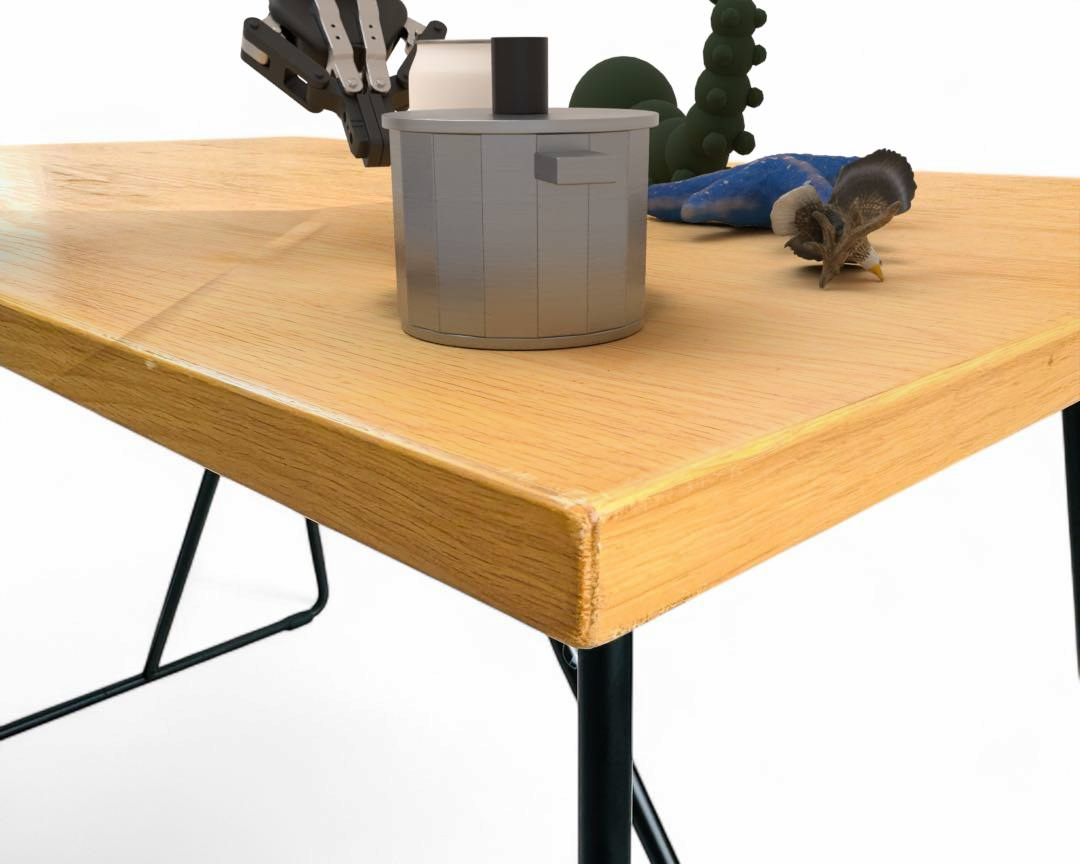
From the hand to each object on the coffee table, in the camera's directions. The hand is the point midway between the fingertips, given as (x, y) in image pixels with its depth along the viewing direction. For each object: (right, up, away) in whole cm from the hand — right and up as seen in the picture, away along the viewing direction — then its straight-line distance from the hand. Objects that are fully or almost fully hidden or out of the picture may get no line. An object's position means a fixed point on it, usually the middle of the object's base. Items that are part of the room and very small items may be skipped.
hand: (381, 157), depth 69 cm
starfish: (+24, 0, +16) cm, 29 cm away
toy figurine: (+19, +7, +34) cm, 39 cm away
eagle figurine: (+26, -8, -4) cm, 27 cm away
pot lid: (+8, -4, -18) cm, 20 cm away
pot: (+8, -12, -14) cm, 21 cm away
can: (+6, -8, -4) cm, 11 cm away
